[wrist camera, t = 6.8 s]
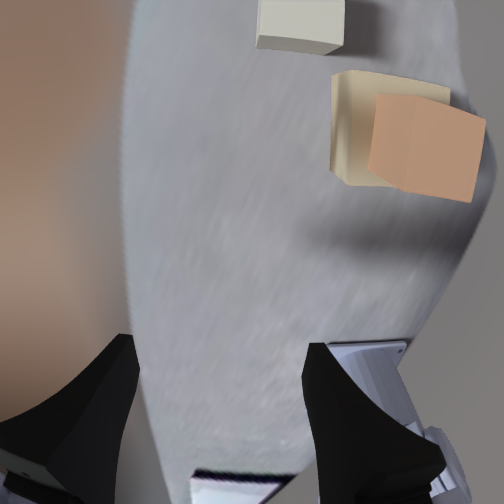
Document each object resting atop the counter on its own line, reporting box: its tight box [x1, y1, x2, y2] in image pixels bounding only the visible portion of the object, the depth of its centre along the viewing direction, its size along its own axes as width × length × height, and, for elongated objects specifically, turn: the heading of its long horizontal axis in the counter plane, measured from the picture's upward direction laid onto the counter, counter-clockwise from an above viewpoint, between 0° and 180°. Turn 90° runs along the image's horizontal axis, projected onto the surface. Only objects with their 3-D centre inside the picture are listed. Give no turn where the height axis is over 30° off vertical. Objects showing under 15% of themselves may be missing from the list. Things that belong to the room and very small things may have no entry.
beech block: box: [330, 70, 450, 187], centre depth 16 cm, size 6×6×4 cm
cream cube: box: [256, 0, 345, 56], centre depth 13 cm, size 4×4×4 cm
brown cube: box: [368, 95, 486, 203], centre depth 13 cm, size 4×4×4 cm
